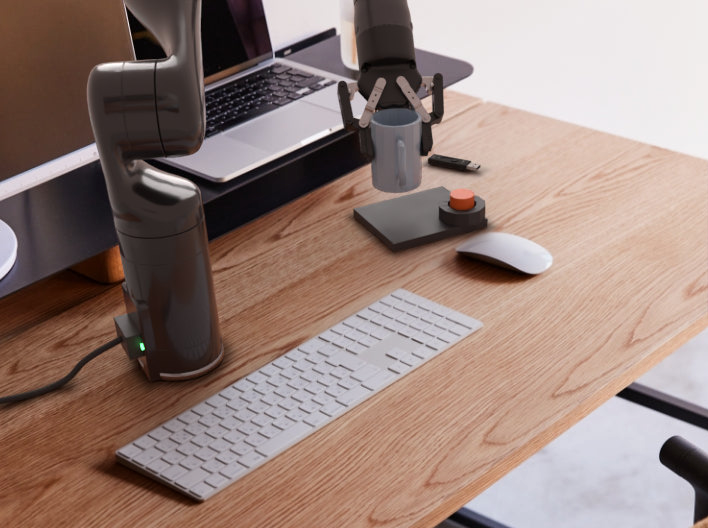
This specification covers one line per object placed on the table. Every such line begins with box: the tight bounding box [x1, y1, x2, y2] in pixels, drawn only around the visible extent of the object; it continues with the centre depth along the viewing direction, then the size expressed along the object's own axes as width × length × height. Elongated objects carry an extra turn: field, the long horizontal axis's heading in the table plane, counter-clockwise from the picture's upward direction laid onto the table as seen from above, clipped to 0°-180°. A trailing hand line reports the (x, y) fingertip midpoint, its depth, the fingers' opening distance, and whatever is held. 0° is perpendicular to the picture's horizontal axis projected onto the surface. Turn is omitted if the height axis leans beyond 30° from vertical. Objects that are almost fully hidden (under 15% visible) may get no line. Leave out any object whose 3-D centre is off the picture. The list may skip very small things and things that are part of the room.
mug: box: [369, 108, 423, 194], centre depth 137 cm, size 9×6×9 cm
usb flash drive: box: [427, 153, 482, 172], centre depth 158 cm, size 8×2×1 cm, turn 59°
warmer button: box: [450, 188, 475, 210], centre depth 141 cm, size 3×3×2 cm
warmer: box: [352, 185, 489, 253], centre depth 143 cm, size 15×13×3 cm
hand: (397, 156), depth 137 cm, fingers closed on mug, 6 cm apart
